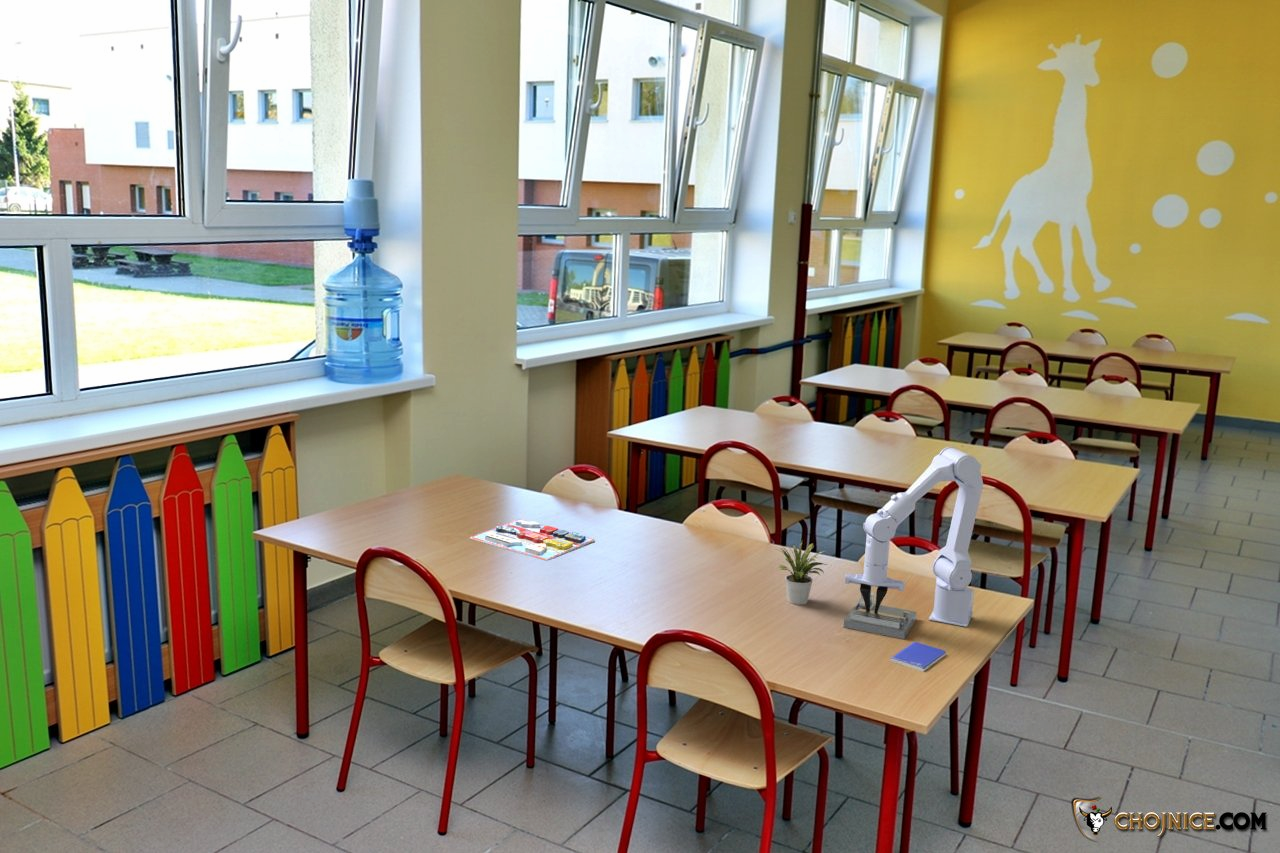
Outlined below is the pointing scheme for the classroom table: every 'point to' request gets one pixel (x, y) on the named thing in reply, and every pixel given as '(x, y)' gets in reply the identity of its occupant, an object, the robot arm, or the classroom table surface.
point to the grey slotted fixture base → (881, 620)
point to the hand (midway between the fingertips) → (871, 613)
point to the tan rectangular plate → (881, 613)
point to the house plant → (800, 575)
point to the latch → (870, 600)
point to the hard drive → (918, 656)
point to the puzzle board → (532, 539)
